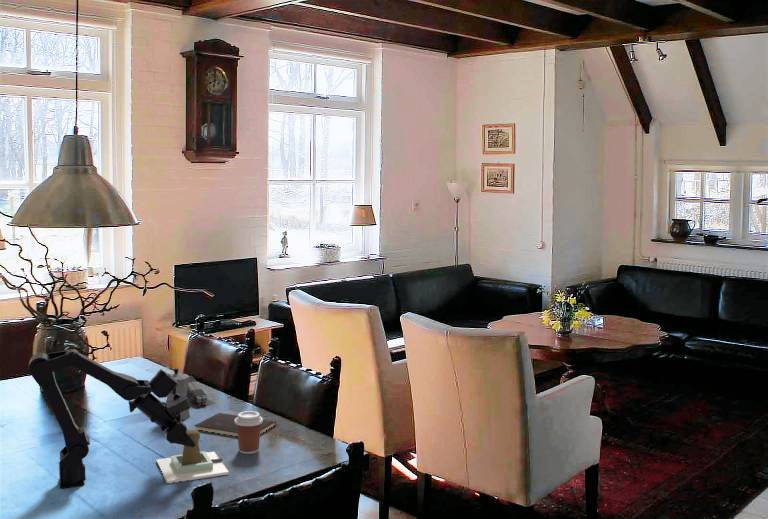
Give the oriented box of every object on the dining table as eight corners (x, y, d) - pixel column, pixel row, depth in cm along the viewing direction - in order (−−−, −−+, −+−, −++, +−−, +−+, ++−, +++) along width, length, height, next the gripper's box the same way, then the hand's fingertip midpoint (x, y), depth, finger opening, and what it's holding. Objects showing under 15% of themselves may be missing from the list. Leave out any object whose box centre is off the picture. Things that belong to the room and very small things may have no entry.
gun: (190, 389, 326) (192, 369, 322) (205, 419, 311) (208, 397, 307) (179, 391, 323) (181, 370, 319) (194, 421, 308) (197, 399, 304)
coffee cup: (231, 447, 264) (231, 411, 262) (259, 443, 268) (259, 408, 266) (238, 457, 256) (237, 420, 254) (266, 453, 259) (266, 417, 258)
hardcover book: (252, 441, 271) (252, 434, 271) (194, 431, 280) (194, 425, 279) (275, 427, 286) (275, 420, 286) (220, 418, 294) (220, 412, 294)
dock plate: (167, 483, 234) (167, 474, 234) (156, 462, 250) (156, 453, 250) (230, 474, 242) (230, 465, 241) (215, 453, 258) (215, 445, 258)
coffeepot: (165, 411, 299) (164, 364, 296) (191, 411, 300) (190, 363, 298) (160, 425, 284) (159, 375, 281) (188, 424, 285) (187, 374, 283)
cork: (184, 461, 249) (184, 426, 247) (204, 462, 248) (203, 427, 247) (178, 468, 243) (178, 433, 241) (198, 469, 242) (197, 434, 241)
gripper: (178, 397, 232) (216, 430, 238) (169, 380, 249) (205, 411, 255) (150, 426, 230) (189, 459, 236) (143, 407, 247) (180, 438, 253)
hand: (192, 440), depth 245 cm, fingers open, 9 cm apart
